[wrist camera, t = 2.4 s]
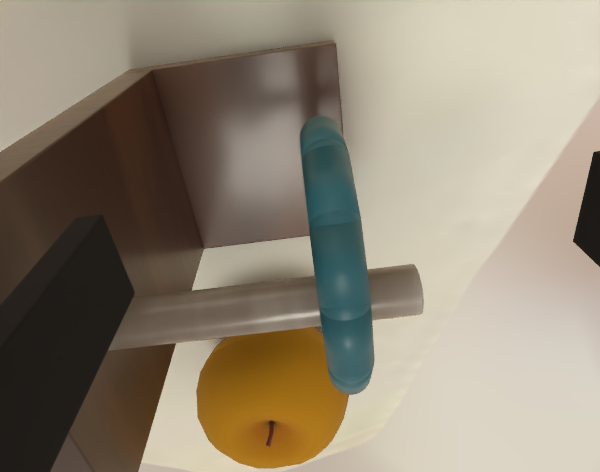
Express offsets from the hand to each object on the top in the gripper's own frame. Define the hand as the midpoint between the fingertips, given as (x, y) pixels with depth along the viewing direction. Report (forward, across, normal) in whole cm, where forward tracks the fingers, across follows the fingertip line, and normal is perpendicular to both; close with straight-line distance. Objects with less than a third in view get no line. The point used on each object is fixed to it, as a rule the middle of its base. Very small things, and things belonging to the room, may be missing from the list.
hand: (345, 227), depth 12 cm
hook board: (+21, -5, -5) cm, 22 cm away
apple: (+21, -6, -24) cm, 33 cm away
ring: (+6, 0, -5) cm, 8 cm away
